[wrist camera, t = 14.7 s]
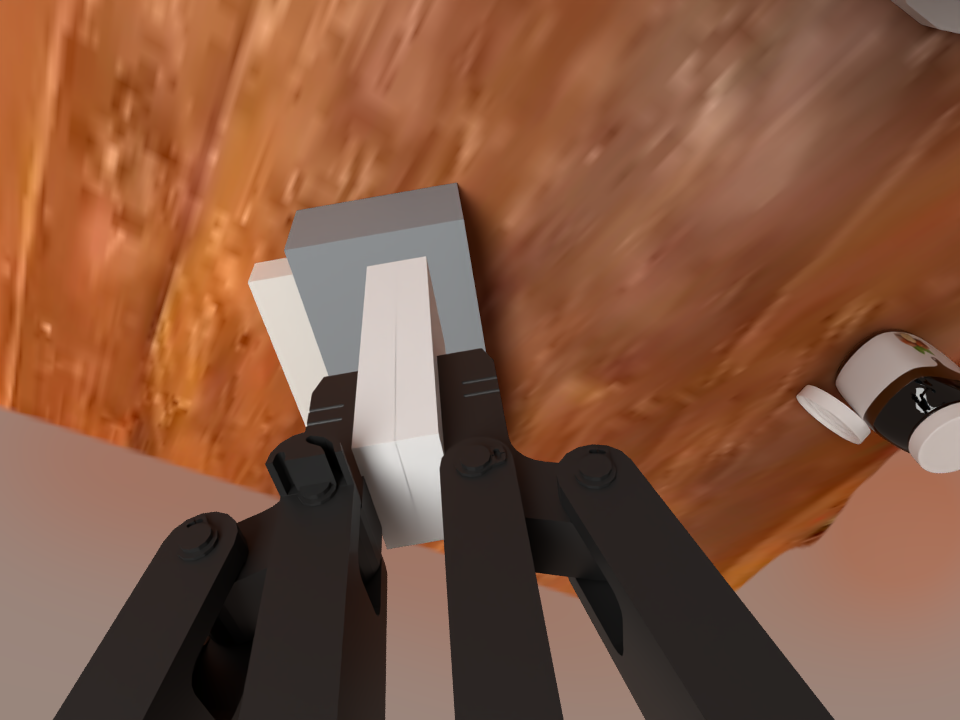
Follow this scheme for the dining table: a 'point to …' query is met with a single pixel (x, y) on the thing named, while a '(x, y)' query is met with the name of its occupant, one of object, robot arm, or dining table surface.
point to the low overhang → (377, 240)
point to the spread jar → (896, 398)
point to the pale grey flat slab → (288, 329)
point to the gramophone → (934, 13)
